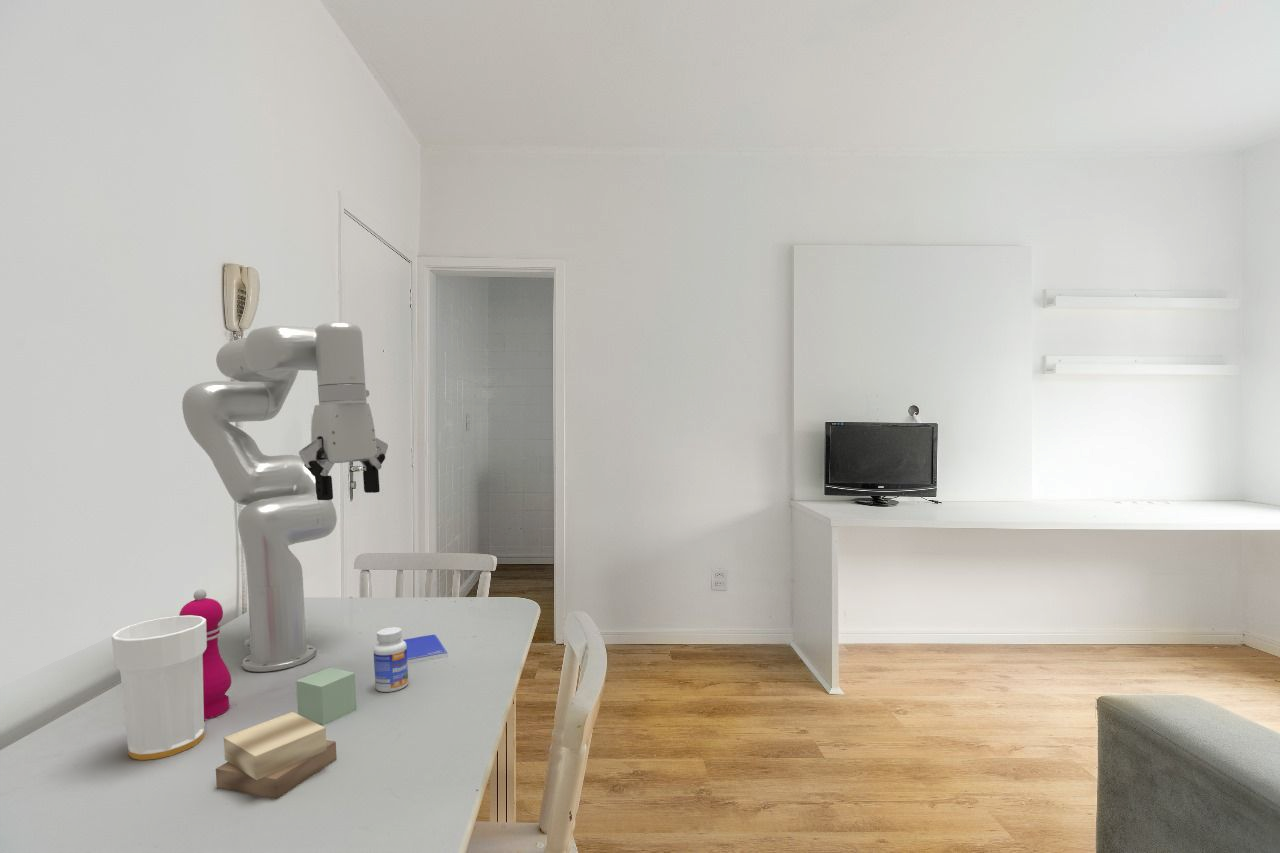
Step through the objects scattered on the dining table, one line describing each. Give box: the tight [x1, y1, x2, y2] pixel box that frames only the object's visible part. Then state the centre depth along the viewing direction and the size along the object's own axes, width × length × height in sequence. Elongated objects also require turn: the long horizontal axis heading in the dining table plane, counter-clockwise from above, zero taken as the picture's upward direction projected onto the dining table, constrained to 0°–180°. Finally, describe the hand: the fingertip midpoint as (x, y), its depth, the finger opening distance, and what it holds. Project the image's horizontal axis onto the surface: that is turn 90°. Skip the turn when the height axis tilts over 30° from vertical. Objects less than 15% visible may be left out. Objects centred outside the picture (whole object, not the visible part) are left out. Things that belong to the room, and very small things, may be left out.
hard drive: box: [402, 634, 449, 665], centre depth 138 cm, size 2×8×12 cm
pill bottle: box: [373, 626, 409, 693], centre depth 121 cm, size 5×5×10 cm
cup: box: [111, 615, 207, 761], centre depth 102 cm, size 11×11×17 cm
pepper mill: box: [178, 589, 232, 720], centre depth 113 cm, size 7×7×20 cm
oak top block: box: [223, 711, 327, 780], centre depth 93 cm, size 9×9×3 cm
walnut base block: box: [215, 739, 338, 800], centre depth 93 cm, size 10×10×3 cm
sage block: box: [295, 667, 357, 726], centre depth 111 cm, size 6×6×6 cm
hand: (349, 496), depth 120 cm, fingers open, 9 cm apart
